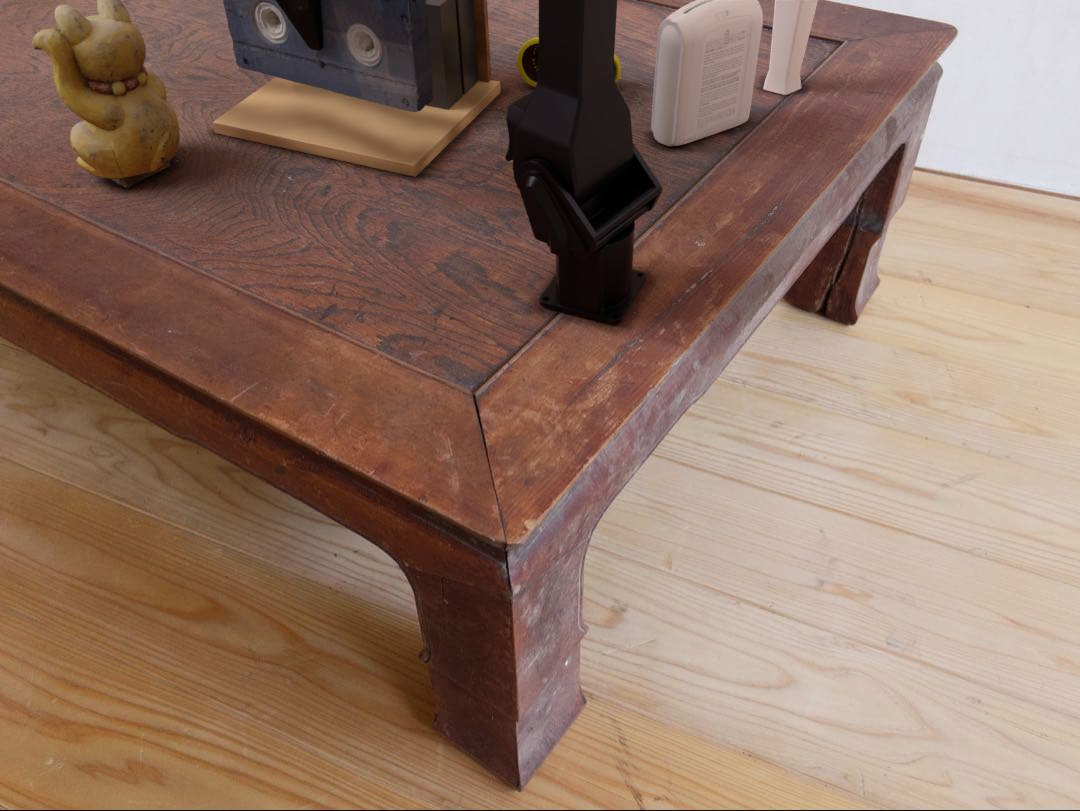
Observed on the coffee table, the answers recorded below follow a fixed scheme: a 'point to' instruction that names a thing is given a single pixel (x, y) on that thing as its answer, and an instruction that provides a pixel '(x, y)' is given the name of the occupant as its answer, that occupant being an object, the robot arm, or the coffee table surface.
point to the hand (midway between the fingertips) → (326, 42)
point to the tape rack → (374, 128)
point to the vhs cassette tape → (342, 48)
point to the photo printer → (705, 69)
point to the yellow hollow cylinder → (530, 62)
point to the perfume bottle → (789, 44)
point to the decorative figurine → (110, 93)
